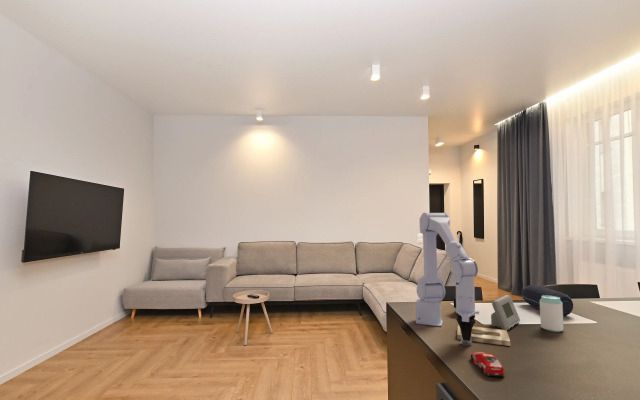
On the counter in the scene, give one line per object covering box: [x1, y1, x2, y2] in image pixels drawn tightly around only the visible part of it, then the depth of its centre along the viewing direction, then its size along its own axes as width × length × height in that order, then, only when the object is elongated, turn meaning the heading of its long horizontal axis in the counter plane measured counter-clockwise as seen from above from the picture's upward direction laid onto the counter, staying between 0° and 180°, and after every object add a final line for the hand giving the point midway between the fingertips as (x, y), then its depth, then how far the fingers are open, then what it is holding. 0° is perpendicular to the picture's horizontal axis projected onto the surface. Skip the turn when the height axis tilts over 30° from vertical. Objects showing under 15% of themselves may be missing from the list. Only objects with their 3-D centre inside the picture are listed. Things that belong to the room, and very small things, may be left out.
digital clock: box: [490, 294, 521, 331], centre depth 132 cm, size 16×9×11 cm, turn 123°
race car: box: [470, 351, 505, 377], centre depth 94 cm, size 13×5×4 cm, turn 174°
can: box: [539, 296, 565, 333], centre depth 126 cm, size 7×7×12 cm
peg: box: [460, 332, 473, 347], centre depth 111 cm, size 3×3×8 cm
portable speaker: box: [521, 284, 574, 317], centre depth 153 cm, size 25×10×10 cm, turn 0°
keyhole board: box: [456, 324, 511, 347], centre depth 118 cm, size 16×12×2 cm
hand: (466, 338), depth 111 cm, fingers closed on peg, 3 cm apart
